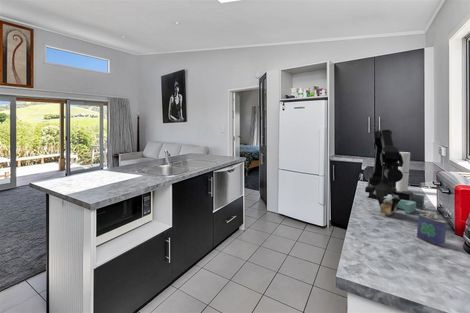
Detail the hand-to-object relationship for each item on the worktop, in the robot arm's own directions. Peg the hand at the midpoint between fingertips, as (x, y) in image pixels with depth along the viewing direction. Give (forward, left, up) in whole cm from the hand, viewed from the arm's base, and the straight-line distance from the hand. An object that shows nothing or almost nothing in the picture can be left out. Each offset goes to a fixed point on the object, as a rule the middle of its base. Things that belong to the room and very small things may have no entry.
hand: (386, 210), depth 113 cm
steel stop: (0, +23, -2) cm, 23 cm away
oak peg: (0, +2, -1) cm, 3 cm away
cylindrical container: (-15, +56, -3) cm, 58 cm away
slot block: (0, +14, -2) cm, 14 cm away
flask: (+21, -16, -3) cm, 27 cm away
